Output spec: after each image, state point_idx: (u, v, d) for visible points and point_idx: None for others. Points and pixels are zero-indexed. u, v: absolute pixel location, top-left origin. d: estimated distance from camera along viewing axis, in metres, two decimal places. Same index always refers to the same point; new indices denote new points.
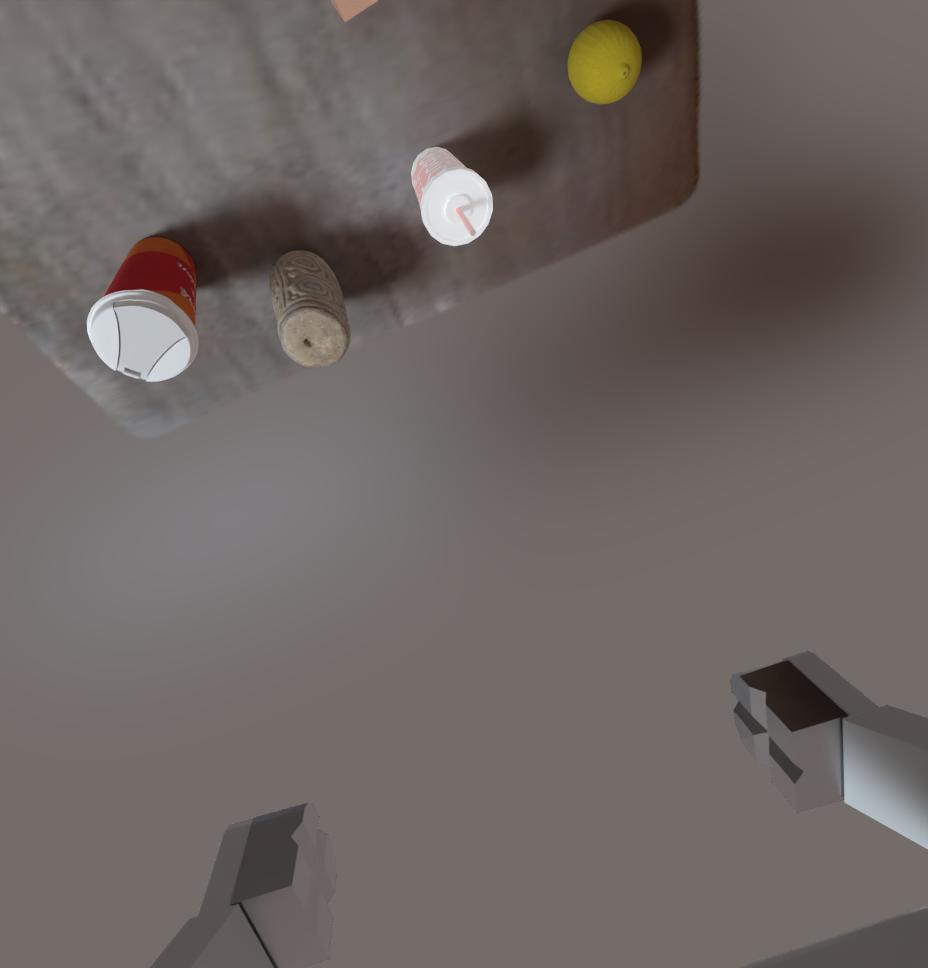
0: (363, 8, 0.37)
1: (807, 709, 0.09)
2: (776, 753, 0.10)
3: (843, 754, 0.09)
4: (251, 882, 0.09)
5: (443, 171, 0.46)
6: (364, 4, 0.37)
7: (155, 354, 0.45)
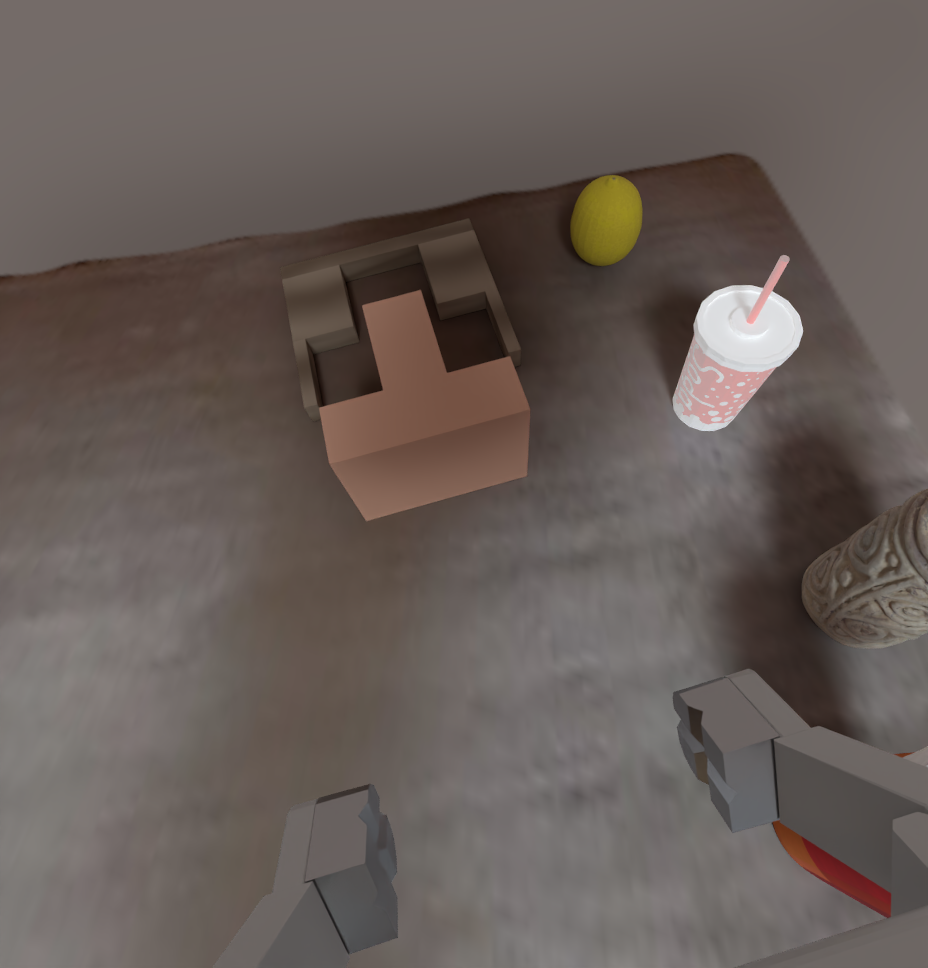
0: (521, 389, 0.34)
1: (741, 729, 0.09)
2: (713, 772, 0.10)
3: (777, 774, 0.09)
4: (323, 861, 0.09)
5: (698, 338, 0.35)
6: (518, 388, 0.34)
7: None
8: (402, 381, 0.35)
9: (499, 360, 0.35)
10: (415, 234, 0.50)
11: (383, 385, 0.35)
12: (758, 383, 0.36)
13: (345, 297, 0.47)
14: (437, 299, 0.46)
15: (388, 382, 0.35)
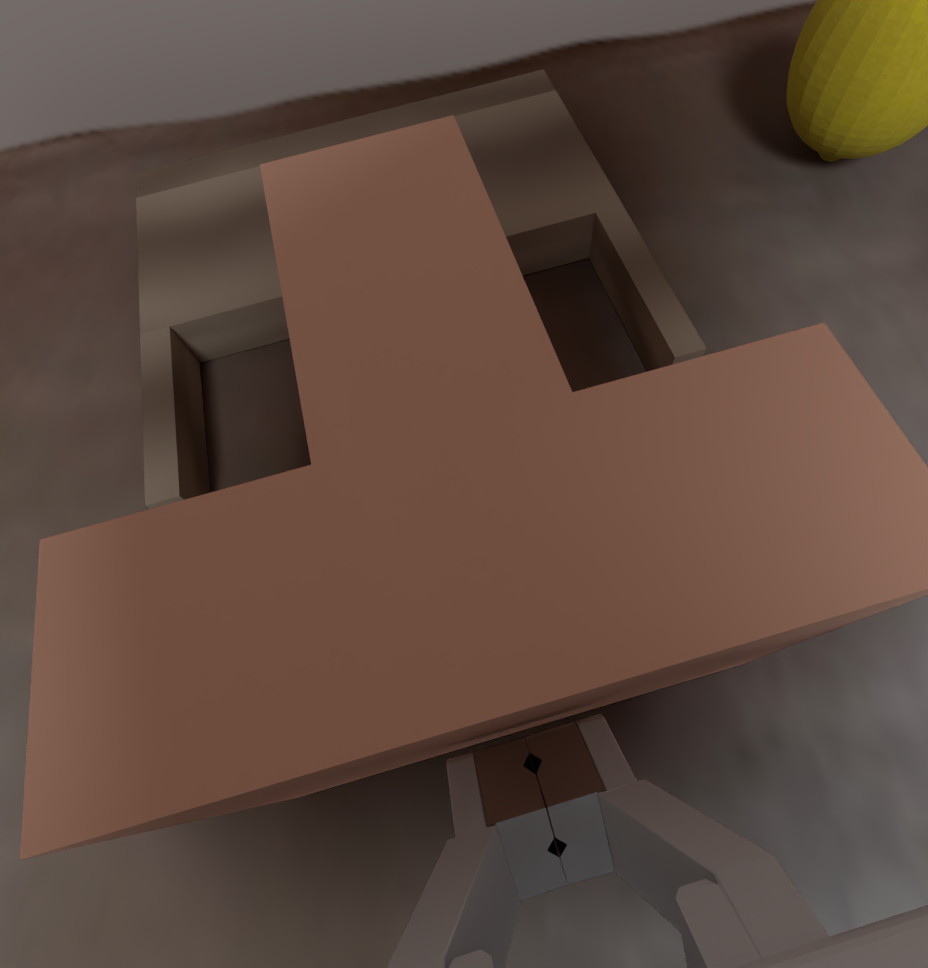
0: (921, 467, 0.08)
1: (571, 781, 0.09)
2: None
3: (606, 827, 0.09)
4: (500, 806, 0.09)
5: None
6: (904, 460, 0.08)
7: None
8: (389, 428, 0.08)
9: (786, 340, 0.09)
10: (429, 102, 0.23)
11: (313, 443, 0.08)
12: None
13: None
14: None
15: (332, 430, 0.09)
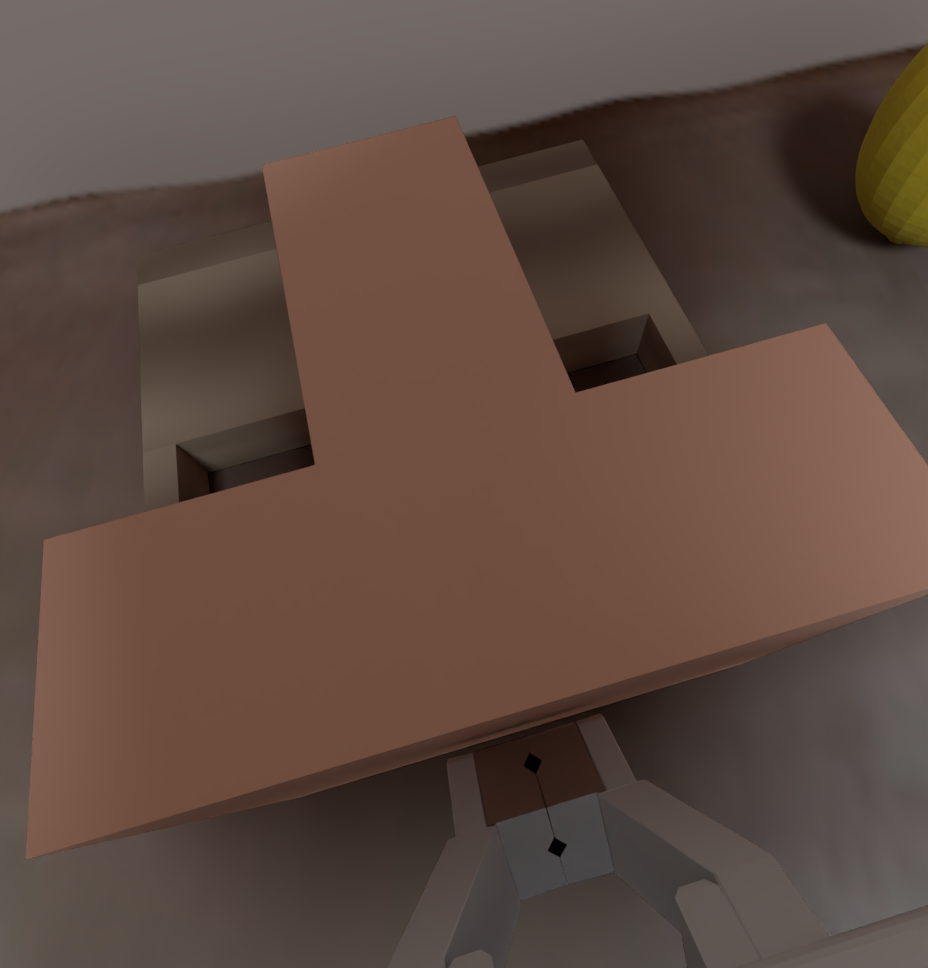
0: (923, 467, 0.08)
1: (571, 781, 0.09)
2: None
3: (605, 827, 0.09)
4: (501, 806, 0.09)
5: None
6: (906, 460, 0.08)
7: None
8: (392, 428, 0.09)
9: (788, 340, 0.09)
10: None
11: (317, 443, 0.08)
12: None
13: (287, 329, 0.19)
14: None
15: (336, 430, 0.09)
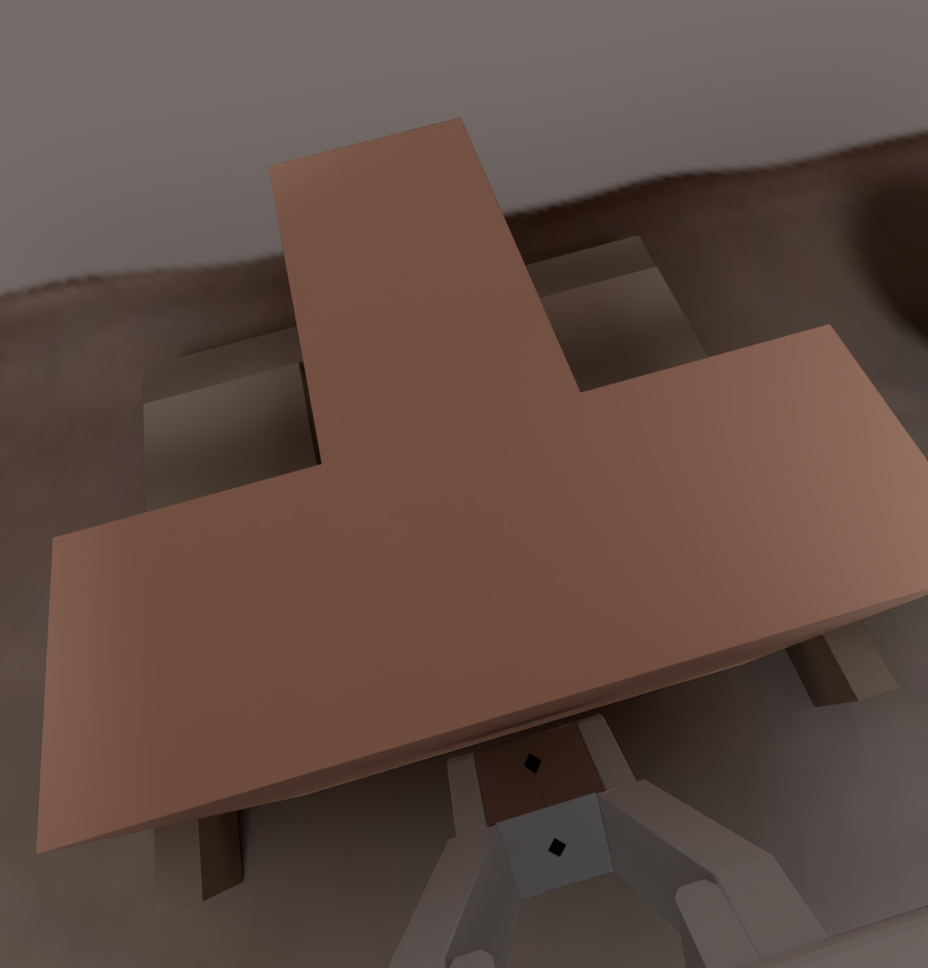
0: (926, 468, 0.08)
1: (570, 781, 0.09)
2: None
3: (605, 827, 0.09)
4: (501, 806, 0.09)
5: None
6: (909, 460, 0.08)
7: None
8: (398, 428, 0.09)
9: (791, 341, 0.09)
10: None
11: (323, 443, 0.09)
12: None
13: (313, 465, 0.16)
14: None
15: (343, 430, 0.09)
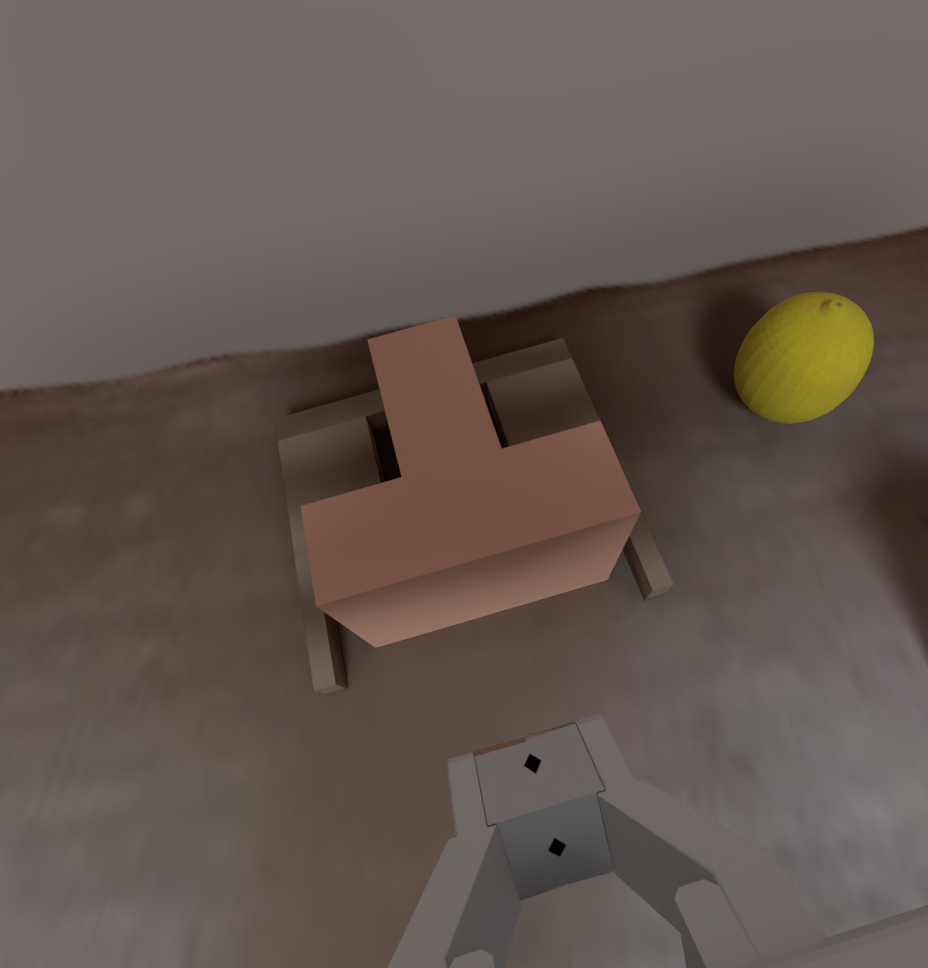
0: (623, 477, 0.21)
1: (570, 781, 0.09)
2: None
3: (605, 827, 0.09)
4: (501, 806, 0.09)
5: None
6: (618, 474, 0.21)
7: None
8: (430, 463, 0.22)
9: (584, 427, 0.22)
10: (481, 364, 0.32)
11: (401, 468, 0.22)
12: None
13: (377, 475, 0.30)
14: None
15: (409, 463, 0.22)
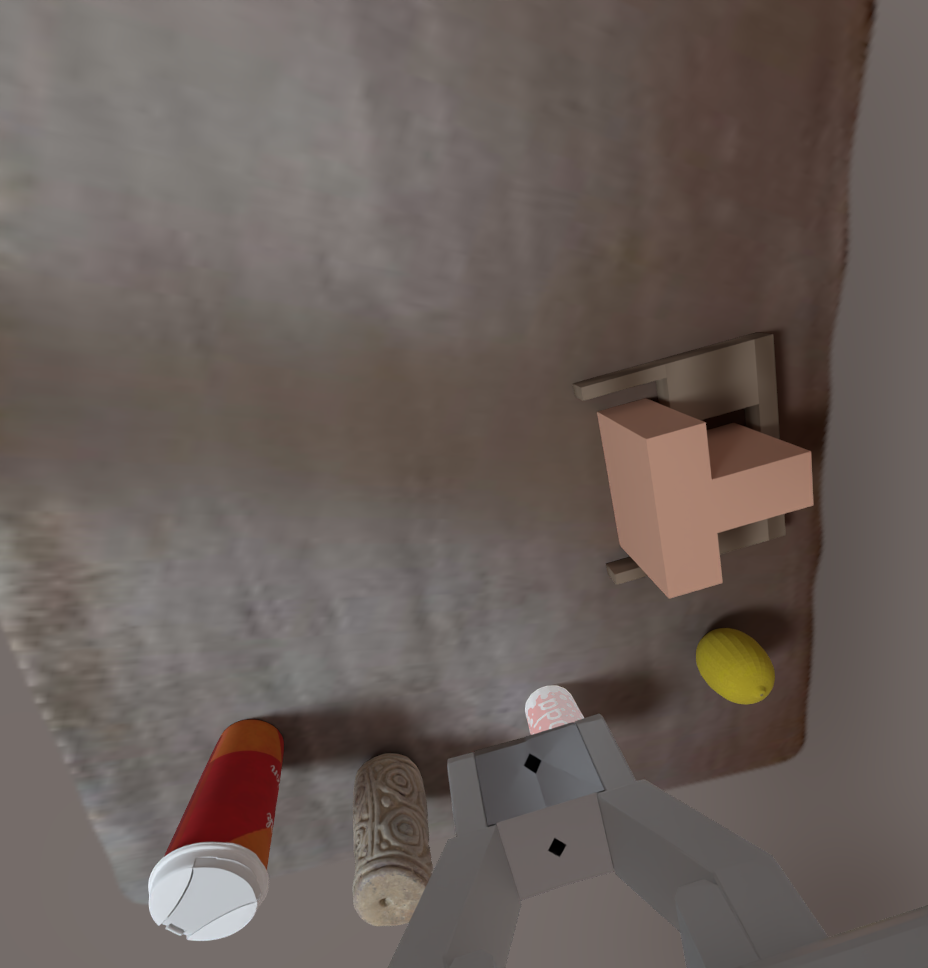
0: (688, 592, 0.40)
1: (570, 781, 0.09)
2: None
3: (605, 827, 0.09)
4: (501, 806, 0.09)
5: None
6: (690, 589, 0.40)
7: (213, 914, 0.37)
8: (717, 495, 0.38)
9: (720, 575, 0.40)
10: None
11: (716, 479, 0.38)
12: None
13: (712, 415, 0.44)
14: None
15: (719, 483, 0.38)
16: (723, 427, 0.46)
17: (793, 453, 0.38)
